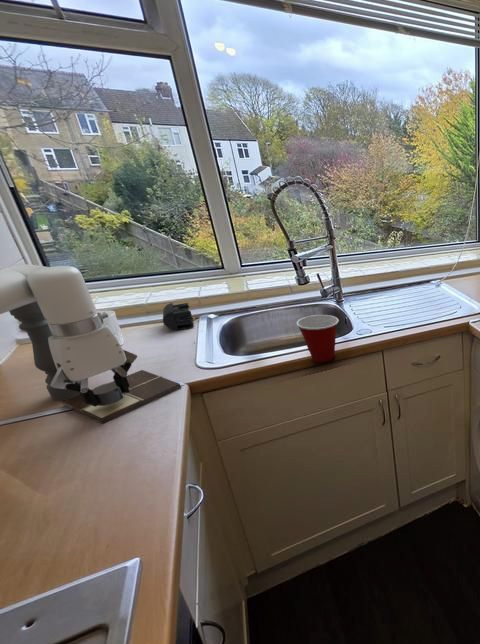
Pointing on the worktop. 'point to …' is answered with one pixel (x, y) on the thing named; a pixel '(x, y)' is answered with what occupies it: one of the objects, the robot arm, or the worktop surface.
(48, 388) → the candle holder
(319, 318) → the plastic cup
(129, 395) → the grid board
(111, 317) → the white cup
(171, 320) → the end cap
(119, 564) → the worktop surface
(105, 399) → the slate stone
